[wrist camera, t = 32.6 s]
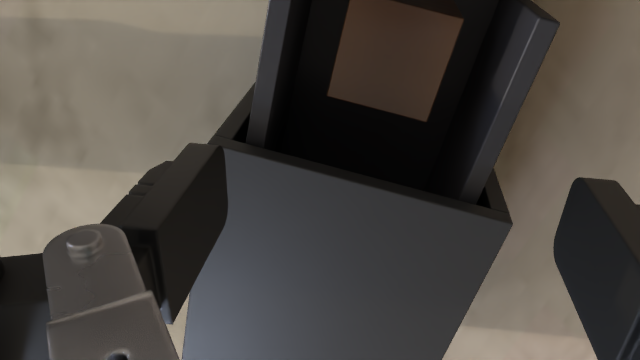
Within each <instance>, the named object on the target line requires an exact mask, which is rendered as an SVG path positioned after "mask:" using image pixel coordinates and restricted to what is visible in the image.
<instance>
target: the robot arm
mask: <svg viewBox="0 0 640 360" xmlns="http://www.w3.org/2000/svg"><path fill="white" fill-rule="evenodd" d="M227 214H228V192H227V178H226V165H225V154H224V150H223V147H222V146H220V145H209V144H198V143H189V144H188V145H187V146H186V147H185V148H184V150H183V151H182V152H181V153H180V154H179V155H178V157H177V158H176V159H175V160H174V161H165V162H163V163H162V164H160V165H158V166H156V167H154V168H152V169H150V170H149V171H148V172H147V173H146V174H145V175H144V176H143V177H142V178H141V179H140V180H139V182H138V185H135V186H134V187H133V188H132V189H131V190H130V191H129V195H126V196H125V197H124V198H123V199H122V200H121V201H120V202H119V203H118V204H117V205H116V207H115V208H114V209H113V210H112V211H111V212H110V213H109V214H108V215H107V216H106V217H105V218H104V220H103V221H102V222H101V223H100V224H90V225H84V226H79V227H76V228H73V229H70V230H67V231H65V232H63V233H61V234H60V235H58V236H56V237H55V238H54V239H52V240H51V241H50V242H49V243H48V244H47V245H46V247H45V249H44V251H43V253H40V254H30V255H20V256H10V257H0V360H179V357H178V354H177V352H176V349H175V347H174V344H173V342H172V339H171V337H170V334H169V332H168V329H167V326H166V324H173V322H174V321H175V319H176V317H177V315H178V313H179V311H180V309H181V307H182V305H183V304H184V302H185V300H186V298H187V296H188V294H189V292H190V290H191V289H192V287H193V285H194V283H195V281H196V279H197V277H198V275H199V273H200V272H201V270H202V268H203V266H204V264H205V262H206V260H207V258H208V256H209V255H210V253H211V251H212V249H213V247H214V245H215V243H216V241H217V239H218V238H219V236H220V234H221V232H222V230H223V228H224V226H225V223H226V219H227ZM554 259H555V262H556V265H557V267H558V269H559V272H560V274H561V276H562V279H563V281H564V283H565V285H566V288H567V290H568V292H569V295H570V297H571V299H572V301H573V304H574V306H575V308H576V311H577V313H578V315H579V317H580V320H581V322H582V324H583V327H584V329H585V331H586V334H587V336H588V338H589V340H590V343H591V345H592V347H593V350H594V352H595V354H596V356H597V359H598V360H640V205H636V204H635V203H634V202H633V201H632V200H631V198H630V197H629V196H628V195H627V193H626V192H625V191H624V189H623V188H622V187H621V186H620V184H619V183H618V182H617V181H614V180H603V179H592V178H580V177H579V178H577V179H575V181H574V182H573V184H572V186H571V188H570V191H569V194H568V197H567V201H566V204H565V207H564V210H563V213H562V216H561V219H560V222H559V225H558V228H557V231H556V235H555V239H554Z"/></svg>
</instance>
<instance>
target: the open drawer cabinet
mask: <svg viewBox="0 0 640 360" xmlns="http://www.w3.org/2000/svg"><path fill="white" fill-rule="evenodd" d="M454 2H455V3H456V5H457V7H458V9H459V11H460V12H461V14H462V16H463V18H464V22H463V25H462V27H461V30H460V33H459V36H458V38H457V41H456V44H455V47H454V49H453V52H452V55H451V58H450V60H449V63H448V66H447V69H446V71H445V74H444V77H443V80H442V82H441V85H440V88H439V91H438V93H437V96H436V99H435V102H434V104H433V107H432V110H431V113H430V115H429V118H428V121H427V122H423V121H419V120H415V119H411V118H408V117H404V116H400V115H396V114H392V113H389V112H385V111H381V110H377V109H373V108H370V107H366V106H362V105H358V104H354V103H350V102H347V101H343V100H339V99H335V98H331V97H328V96H327V91H328V87H329V82H330V78H331V74H332V70H333V66H334V62H335V58H336V53H337V49H338V45H339V41H340V37H341V33H342V29H343V24H344V20H345V16H346V12H347V8H348V4H349V0H269V4H268V10H267V16H266V22H265V28H264V35H263V41H262V47H261V53H260V59H259V65H258V71H257V77H256V83H255V89H254V95H253V102H252V108H251V114H250V120H249V126H248V132H247V138H246V144H249V145H253V146H256V147H260V148H264V149H268V150H271V151H275V152H279V153H283V154H286V155H290V156H294V157H298V158H302V159H305V160H309V161H313V162H317V163H320V164H324V165H328V166H332V167H335V168H339V169H343V170H347V171H350V172H354V173H358V174H362V175H365V176H369V177H373V178H377V179H380V180H384V181H388V182H392V183H395V184H399V185H403V186H407V187H410V188H414V189H418V190H422V191H425V192H429V193H433V194H437V195H440V196H444V197H448V198H452V199H455V200H459V201H463V202H467V203H470V204H474V205H476V203H477V201H478V199H479V197H480V195H481V192H482V190H483V188H484V186H485V184H486V182H487V180H488V177H489V175H490V173H491V171H492V169H493V167H494V165H495V162H496V160H497V158H498V156H499V154H500V152H501V150H502V147H503V145H504V143H505V141H506V139H507V137H508V135H509V132H510V130H511V128H512V126H513V124H514V122H515V120H516V117H517V115H518V113H519V111H520V109H521V107H522V105H523V102H524V100H525V98H526V96H527V94H528V92H529V90H530V87H531V85H532V83H533V81H534V79H535V77H536V75H537V72H538V70H539V68H540V66H541V64H542V62H543V60H544V57H545V55H546V53H547V51H548V49H549V47H550V45H551V42H552V40H553V38H554V36H555V34H556V32H557V30H558V27H559V25H560V22H558V21H557V20H556V19H554V18H553V17H552V16H551V15H549V14H548V13H547V12H545V11H544V10H543V9H541V8H540V7H539V6H537V5H536V4H535V3H533V2H532V1H531V0H454Z"/></svg>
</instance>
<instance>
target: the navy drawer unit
mask: <svg viewBox="0 0 640 360" xmlns="http://www.w3.org/2000/svg"><path fill="white" fill-rule="evenodd" d="M255 83H256V82H255ZM255 83H254V85H253V86H252V87H251V88H250V90H249V91H248V92H247V94H246V95H245V96H244V97H243V99H242V100H241V101H240V103H239V104H238V105H237V106H236V108H235V109H234V110H233V112H232V113H231V114H230V115H229V117H228V118H227V119H226V120H225V122H224V123H223V124H222V126H221V127H220V128H219V129H218V131H217V132H216V133H215V135H214V136H213V137H212V138H211V139H210V141H209V142H208V144H209V145H220V146H222V147H223V150H224V154H225V165H226V178H227V192H228V214H227V219H226V223H225V226H224V228H223V230H222V232H221V234H220V236H219V238H218V239H217V241H216V243H215V245H214V247H213V249H212V251H211V253H210V255H209V256H208V258H207V260H206V262H205V264H204V266H203V268H202V270H201V272H200V273H199V275H198V277H197V279H196V281H195V283H194V285H193V287H192V289H191V290H190V294H189V303H188V311H187V319H186V328H185V336H184V344H183V353H182V360H442V358H443V356H444V354H445V353H446V351H447V349H448V347H449V345H450V343H451V341H452V339H453V337H454V335H455V334H456V332H457V330H458V328H459V326H460V324H461V322H462V320H463V318H464V316H465V315H466V313H467V311H468V309H469V307H470V305H471V303H472V301H473V299H474V298H475V296H476V294H477V292H478V290H479V288H480V286H481V284H482V282H483V280H484V279H485V277H486V275H487V273H488V271H489V269H490V267H491V265H492V263H493V261H494V260H495V258H496V256H497V254H498V252H499V250H500V248H501V246H502V244H503V242H504V241H505V239H506V237H507V235H508V233H509V231H510V229H511V227H512V225H513V223H512V220H511V217H510V214H509V211H508V208H507V205H506V202H505V199H504V197H503V194H502V191H501V188H500V185H499V183H498V180H497V177H496V174H495V171H494V168H493V169H492V171H491V173H490V175H489V177H488V180H487V182H486V184H485V186H484V188H483V190H482V192H481V195H480V197H479V199H478V201H477V203H476V205H474V204H470V203H467V202H463V201H459V200H455V199H452V198H448V197H444V196H440V195H437V194H433V193H429V192H425V191H422V190H418V189H414V188H410V187H407V186H403V185H399V184H395V183H392V182H388V181H384V180H380V179H377V178H373V177H369V176H365V175H362V174H358V173H354V172H350V171H347V170H343V169H339V168H335V167H332V166H328V165H324V164H320V163H317V162H313V161H309V160H305V159H302V158H298V157H294V156H290V155H286V154H283V153H279V152H275V151H271V150H268V149H264V148H260V147H256V146H253V145H249V144H246V138H247V132H248V126H249V120H250V114H251V108H252V102H253V95H254V89H255Z"/></svg>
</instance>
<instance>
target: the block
mask: <svg viewBox="0 0 640 360" xmlns="http://www.w3.org/2000/svg"><path fill="white" fill-rule="evenodd" d="M463 22H464V18H463V16H462V14H461V12H460V11H459V9H458V7H457V5H456V3H455V2H454V0H349V4H348V8H347V12H346V16H345V20H344V24H343V29H342V33H341V37H340V41H339V45H338V49H337V53H336V58H335V62H334V66H333V70H332V74H331V78H330V82H329V87H328V91H327V96H328V97H331V98H335V99H339V100H343V101H347V102H350V103H354V104H358V105H362V106H366V107H370V108H373V109H377V110H381V111H385V112H389V113H392V114H396V115H400V116H404V117H408V118H411V119H415V120H419V121H423V122H427V121H428V118H429V115H430V113H431V110H432V107H433V104H434V102H435V99H436V96H437V93H438V91H439V88H440V85H441V82H442V80H443V77H444V74H445V71H446V69H447V66H448V63H449V60H450V58H451V55H452V52H453V49H454V47H455V44H456V41H457V38H458V36H459V33H460V30H461V27H462V25H463Z"/></svg>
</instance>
